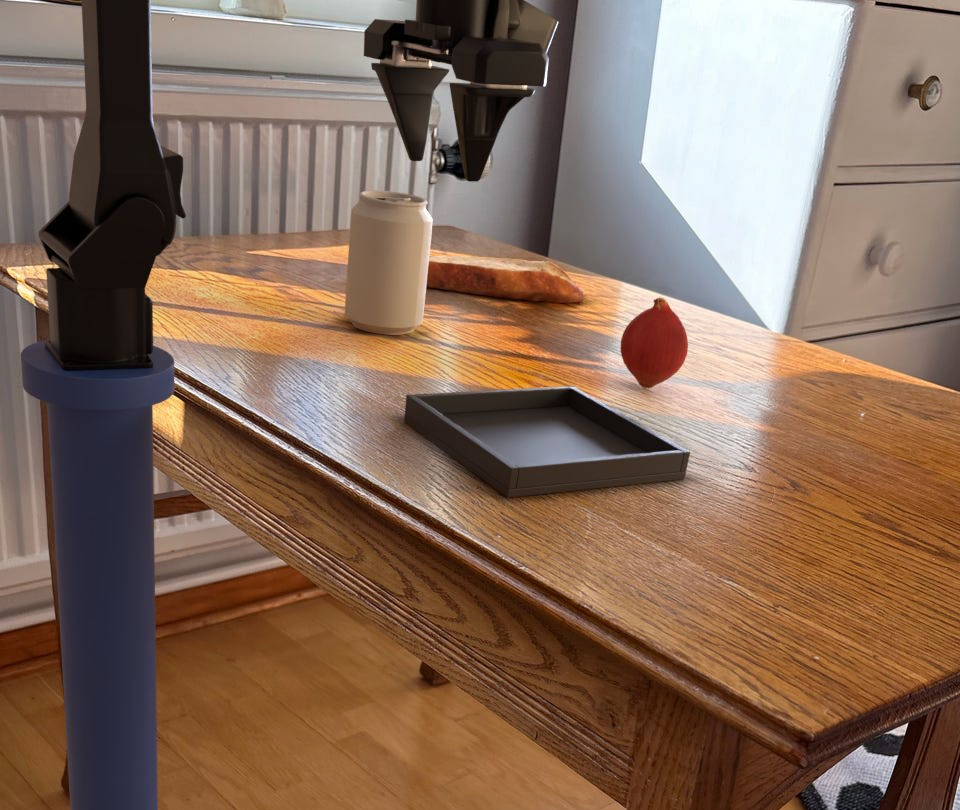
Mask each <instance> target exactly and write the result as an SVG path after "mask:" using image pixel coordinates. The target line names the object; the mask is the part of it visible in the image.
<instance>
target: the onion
mask: <svg viewBox="0 0 960 810" xmlns="http://www.w3.org/2000/svg"><path fill="white" fill-rule="evenodd" d="M688 350H689V341H688V335H687V332H686V328H685V326H684V324H683V321H682V320H681V319H680V317H679V316H678V314H677V313H676V312H675V311H673V309H672V308H671V307H670V304H669V302H668V301H667V299H665V298H664V297H660V296H659V297H657V298H654V299H653V306H652V307H650V308H647V309H645V310H643V311H642V312H640V313H639V314H637V315H636V316H635V317H634V318H633V319H632V320H631V321H630V322H629V323H628V324H627V325H626V327H625V329H624V331H623V333H622V336H621V339H620V354H621V358H622V361H623V364H624V366H625V367H626V369H627V370H628V372H629V373H630V374H631V375H632V376H633V377H634V379H635V380H636V381H637V383H638V385H639V386H640V387H641V388H644V389H647V390H648V389H651V388H653V387H655V386H657V385H659V384H662V383H664V382H665V381H667V380H669V379H671V378H672V377H673V376H674V375H676V373H678V371H679V370H680V369H681V368H682V367H683V365H684V364H685V361H686V359H687V355H688Z"/></svg>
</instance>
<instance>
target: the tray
mask: <svg viewBox="0 0 960 810" xmlns="http://www.w3.org/2000/svg"><path fill="white" fill-rule="evenodd" d="M403 422H404V423H406V424H407V425H408V426H410V427H411V428H412V429H413V430H415V431H416V432H418V433H419V434H420V435H422V436H423V437H425V438H426V439H427V440H428V441H430V442H432V443H433V444H434V445H435V446H436V447H438V448H439V449H440V450H442V451H444V452H445V453H446V454H447V455H449V456H450V457H452V459H454V460H455V461H456V462H458V463H459V464H461V465H462V466H463V467H465V468H466V469H467V470H469V471H470V472H472V473H473V474H475V475H476V476H477V477H478V478H480V479H481V480H482V481H484V482H485V483H486V484H487V485H489V486H490V487H492V488H493V489H494V490H496V491H497V492H498V493H500V494H501V495H503V496H504V497H505V498H507V499H509V498H518V497H527V496H528V497H529V496H537V495H546V494H556V493H557V494H558V493H564V492H566V493H567V492H574V491H575V492H576V491H584V490H585V491H586V490H595V489H603V488H613V487H614V488H615V487H623V486H632V485H633V486H634V485H640V484H641V485H642V484H649V483H659V482H661V483H662V482H669V481H680V480H685V478H686V474H687V469H688V465H689V462H690V461H689V460H690V456H691V451H689V450H688V449H686V448H684V447H683V446H680V445H678V444H677V443H675V442H673V441H671V440H670V439H668V438H666V437H664V436H662V435H661V434H659V433H658V432H655V431H654V430H652V429H650V428H648V427H647V426H645V425H643V424H641V423H639V422H638V421H636V420H635V419H633V418H631V417H630V416H628V415H625V414H623V413H622V412H620V411H618V410H616V409H614V408H613V407H611V406H609V405H607V404H606V403H604V402H602V401H600V400H598V399H596V398H595V397H593V396H592V395H590V394H588V393H586V392H584V391H583V390H581V389H579V388H578V387H576V386H574V385H568V386H567V385H565V386H548V387H529V388H528V387H527V388H511V389H494V390H493V389H492V390H491V389H489V390H488V389H487V390H473V391H469V390H468V391H455V392H454V391H453V392H452V391H451V392H450V391H449V392H433V393H432V392H431V393H414V394H406V395H405V406H404V417H403Z"/></svg>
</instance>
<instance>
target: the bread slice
mask: <svg viewBox="0 0 960 810" xmlns="http://www.w3.org/2000/svg"><path fill="white" fill-rule="evenodd" d="M426 288H429V289H438V290H443V291H451V292H458V293H463V294H472V295H477V296H487V297H494V298H504V299H510V300H521V301H529V302H546V303H553V304H554V303H556V304H572V303H584V302H585V300H586V299H585V298H586V297H585V295H584V291H583V290H582V289H581V288H580V286H579V285H578V284H577V283H576V281H575V280H574V279H573V278H572V277H571V276H570V275H569V274H568V273H567V272H566V271H564V269H562V268H561V267H559V266H558V265H557V264H555V263H553V262H551V261H539V260H527V259H521V258H515V257H514V258H509V257H497V258H496V257H490V256H460V255H450V256H449V255H429V265H428V275H427V285H426Z"/></svg>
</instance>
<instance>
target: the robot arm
mask: <svg viewBox="0 0 960 810" xmlns="http://www.w3.org/2000/svg"><path fill="white" fill-rule="evenodd" d="M151 3H152V2H151V0H81V19H82V20H81V21H82V22H81V23H82V39H83V40H82V43H83V45H82V47H83V68H84V69H83V70H84V89H85V113H84V118H83V122H82V125H81V129H80V133H79V135H78V140H77V142H76V146H75V150H74V152H73V161H72V169H71V177H70V184H69V186H70V187H69V193H68V201H67V202H66V203H65V204H64V206H62V207H61V208H60V209H59V210H58V212H56V213H55V214H54V215H53V216H52V218H50V219H49V220H48V222H46V223H45V224H44V226H42V227H41V228H40V230H39V231H38V233H37V235H38V238H39V241H40V243H41V246H42V248H43V250H44V253H45V255H46V257H47V259H48V260H49V261H50V262H51V263H54V264H55V265H56V266H57V267H47V268H45V269H46V270H45V271H46V288H47V289H46V291H47V306H48V307H47V308H48V325H49V326H48V328H49V339H50V340H49V339H44V340H45V348H46V349H47V350H48V352H49V353H50V354H51V355H52V357H53V358H54V359H55V360H56V362H57V363H58V364H59V366H60V367H61V368H62V369H63V370H65V371H88V370H116V369H144V368H153V360H152V359H151V358H150V357H149V356H148V355H147V354H151V353H152V352H153V346H154V313H153V312H154V311H153V310H154V309H153V307H154V306H153V305H154V304H153V301H154V300H152V298H151V297H149V295H148V294H146V286H147V284H148V281H149V278H150V276H151V273H152V270H153V266H154V264H155V261H156V258H157V257H158V256H160V255H161V254H162V253H163V252H164V250H165V249H167V248H168V246H170V245H171V244H172V243H173V241H174V238H175V235H176V229H177V216H178V217H179V218H180V219H185V218H186V217H187V214H186V212H185V209H184V207H183V202H182V197H181V191H182V190H181V187H182V181H183V175H184V157H183V155H181V154H179V153H177V152H176V151H173V150H171V149H169V148H167V147H165V146H163V145H161V144H160V141H159V138H158V134H157V132H156V128H155V123H154V117H153V116H154V115H153V72H152V71H153V67H152V12H151V11H152V10H151V8H152V7H151ZM415 4H416V5H415V19H404V20H396V19H395V20H393V19H379V18H374V19H373V20H372V22H371V23H370V24H369V25H368V26H367V28H366V29H365V30H364V32H363V34H364V36H363V57H365V58H369V59H374V60H379V62H371V64H370V66H371V70H372V71H374V72H375V73H376V77H377V78H378V81H379V84H380V86H381V88H382V91H383V93H384V95H385V98H386V100H387V102H388V105H389V108H390V110H391V113H392V115H393V118H394V120H395V123H396V126H397V129H398V132H399V135H400V137H401V140H402V143H403V146H404V149H405V151H406V154H407V157H408V159H409V160H410V161H411V162H422V161H423V160H424V155H425V151H426V146H427V141H428V133H429V128H430V120H431V114H432V113H431V112H432V106H433V105H432V104H433V100H434V93H435V90H436V89H437V88H438V86H440V84H441V83H442V82H443V80H444V79H445V78H446V76H447V75H448V74H449V72H450V69H449V68H445V67H440V66H437V65H432V62H435V63H441V64H446V65H451V67H452V70H453V73H454V77H455V79H456V80H461V81H465V82H468V83H465V82H463V83H462V82H449V90H450V96H451V103H452V111H453V115H454V122H455V128H456V133H457V140H458V147H459V154H460V160H461V165H462V170H463V173H464V177H465V181H467V182H471V183H473V182H480V180H481V178H482V176H483V174H484V170H485V168H486V166H487V164H488V161H489V158H490V156H491V153H492V151H493V148H494V145H495V143H496V140H497V138H498V135H499V133H500V131H501V129H502V126H503V124H504V122H505V119H506V118H507V115H508V114H509V112H510V111H511V110H512V109H513V108H514V107H515V106H517V104H519V103H520V102H522V100H523V99H525V98H531V97H532V96H533V95H534V94H535V92H536V89H534V88H531V87H546V86H547V78H548V67H549V60H550V59H549V57H548V55H547V53H548V50H549V48H550V45H551V44H552V40H553V37H554V35H555V32H556V29H557V27H558V24H559V21H558V20H557V19H556V18H554V17H553V16H551V15H549V14H548V13H546V12H545V11H543V10H541V9H540V8H538V7H536V6H535V5H533V4H531V3H530V2H528V1H526V0H416V3H415Z"/></svg>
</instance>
